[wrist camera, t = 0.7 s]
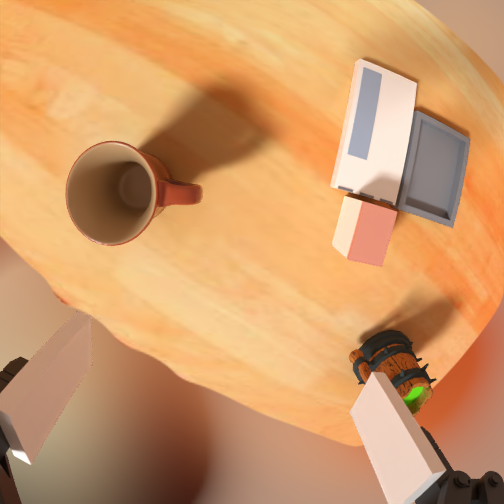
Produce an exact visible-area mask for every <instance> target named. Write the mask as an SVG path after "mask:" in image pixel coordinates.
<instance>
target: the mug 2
mask: <svg viewBox="0 0 504 504" xmlns="http://www.w3.org/2000/svg"><path fill="white" fill-rule="evenodd" d="M412 343H413V342H411V343H410V341H409V339H408V338H407V337H406V336H405V335H404V334H402V333H401V332H400V331H394V330H388V331H384V332H380V333H378V334H376V335H374V336H373V337H371V338H370V339H368V340H367V341H366V342H365V343H364V344H363V345H362V346H361V347H360V348H359V349H358V350H354V351H352V352H351V353H350V356H349V359H350V361H351V362H352V363H353V371H354V373H355V375H356V376H357V378H358V380H359V381H360V382H359V383H358V384H366V382H367V381H368V379H369V377H370V375H371V373H372V372H383V373H385V374H386V376H387V377H388V379H389V380H390V382H391V383H392V385H393V386H394V388H395V389H396V391H397V392H398V394H399V395H400V397H401V398H402V400H403V401H404V403H405V404H406V406H407V408H408V409H409V411H410V412H411V414H412V415H413V417H414V416H415V415H417V414H418V413H419V412H420V411H419V409H420V408H421V407H422V406H423V405H424V404H425V403H426V402H427V400H428V399H429V398H431V397H432V395H433V391H432V388H431V386H430V383H432V382H434V381H435V380H436V378H435V379H430V378H429V376H428V374H427V372H426V371H425V370H426V368H427V366H428V365H429V364H426V365H425V366H424V367H422V368H420V367H419V365H418V363H417V362H419V361H420V360H422V358H418V359H417V358H416V356H415V354H414V353H413V351H412V347H411V345H412Z"/></svg>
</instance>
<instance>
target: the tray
mask: <svg viewBox="0 0 504 504" xmlns="http://www.w3.org/2000/svg"><path fill="white" fill-rule="evenodd" d="M469 145H470V139H469V138H468V137H466V136H464V135H463V134H461V133H459V132H457V131H456V130H454V129H452V128H450V127H449V126H447V125H445V124H443V123H441V122H439V121H437V120H435V119H434V118H432V117H430V116H428V115H426V114H424V113H422V112H420V111H414V112H413V118H412V125H411V131H410V137H409V143H408V148H407V153H406V158H405V163H404V168H403V173H402V178H401V182H400V187H399V191H398V195H397V199H396V203H395V205H391V207H393V208H396V209H399V210H402V211H405V212H408V213H411V214H414V215H417V216H420V217H423V218H426V219H429V220H432V221H435V222H437V223H440V224H443V225H446V226H449V227H451V228H453V225H454V221H455V218H456V214H457V209H458V205H459V201H460V196H461V192H462V187H463V182H464V176H465V171H466V165H467V159H468V152H469Z"/></svg>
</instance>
